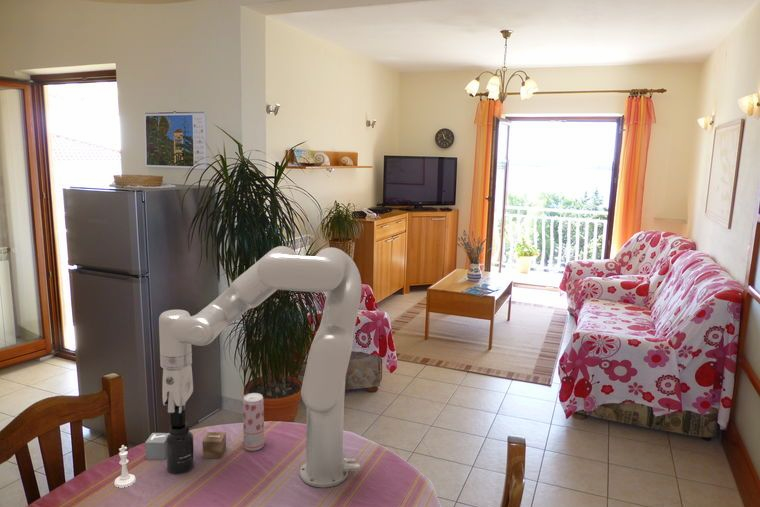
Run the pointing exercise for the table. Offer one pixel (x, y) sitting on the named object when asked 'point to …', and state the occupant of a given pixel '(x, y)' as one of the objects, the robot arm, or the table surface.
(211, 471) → the table surface
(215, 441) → the walnut numbered block
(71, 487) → the table surface
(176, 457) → the supplement bottle
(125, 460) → the chess piece
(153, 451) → the slate-grey numbered block
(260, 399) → the beverage can
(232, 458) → the table surface
